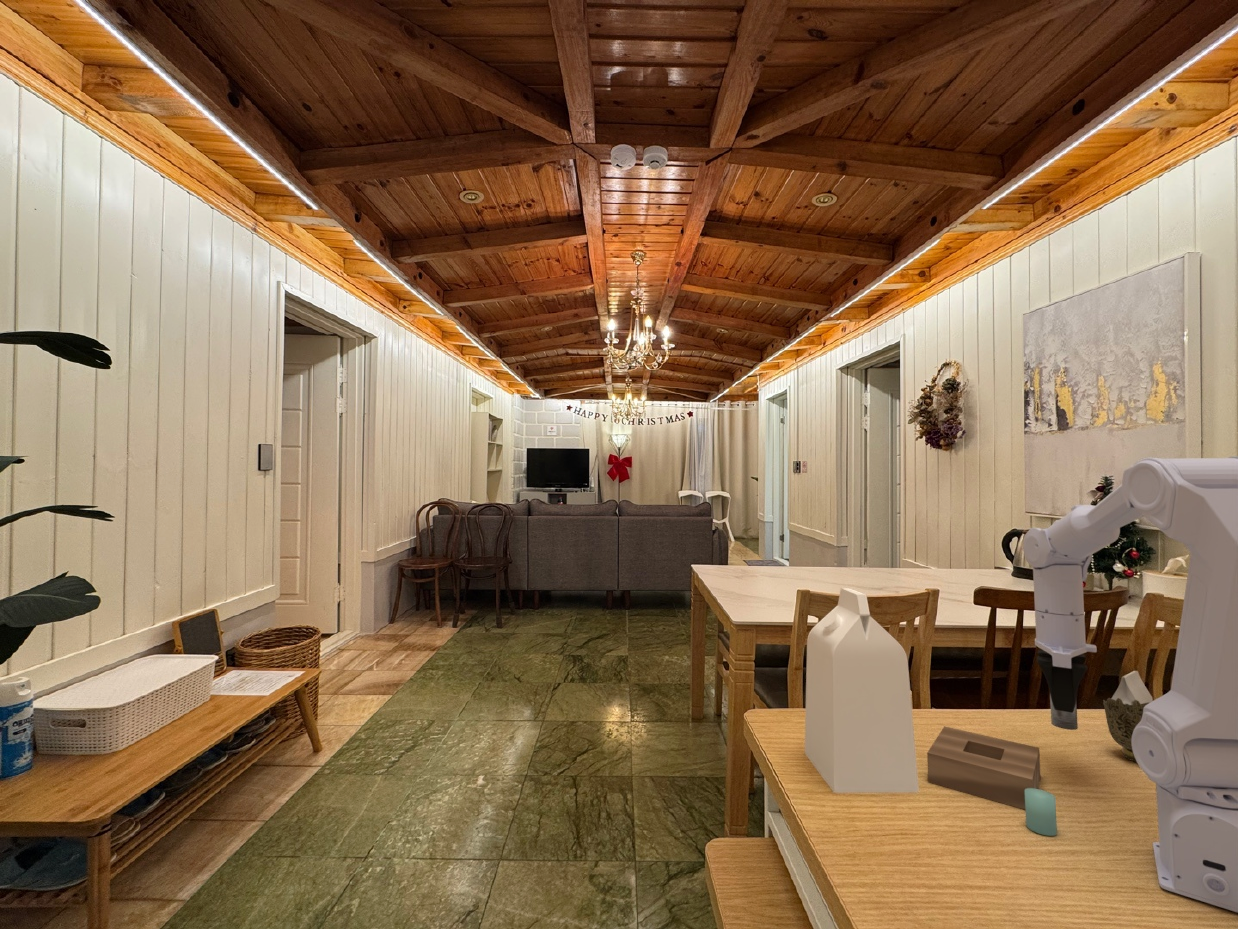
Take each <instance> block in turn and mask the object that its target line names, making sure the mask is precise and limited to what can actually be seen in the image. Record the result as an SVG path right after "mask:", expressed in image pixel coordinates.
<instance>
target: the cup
mask: <svg viewBox="0 0 1238 929" xmlns="http://www.w3.org/2000/svg"><path fill="white" fill-rule="evenodd" d="M1111 698H1112V697H1111ZM1111 698H1110V697H1108V698H1107V699H1106V700H1104V699H1103V706H1104V712H1105V718H1106V719H1105V720H1106V724H1107V728H1108V730H1109V734H1110V736H1111V737H1112V739H1113V740H1114V741H1115V742H1116V743H1117V744H1118V745H1119V746H1121V747H1122V748H1121V752H1122V755H1123V757H1125V758H1126V759H1128V760H1130V761H1133V762H1136V763H1137V761H1136V759H1135V757H1134V754H1133V750H1132V744H1131V739H1132V734H1133V731H1134V729H1135V727H1136V726H1137V725H1138V723H1139V722H1140V721H1141V719H1142V715H1143V709H1144V707H1145V706H1146V705H1147V704H1149V703H1143V704H1140V702H1139V701H1138V700H1133V701H1132V703H1133V704H1132V703H1131V704H1132V705H1129V704H1127V703H1125V704H1123V702H1122V700H1121V699H1119V698H1117V699H1116V701H1115V700H1113V699H1111Z"/></svg>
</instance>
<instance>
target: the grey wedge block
mask: <svg viewBox="0 0 1238 929" xmlns="http://www.w3.org/2000/svg"><path fill="white" fill-rule="evenodd" d="M1117 698H1119V699H1121V700H1122V702H1123V704H1125V703H1127V704H1129V705H1132V704H1133V703H1132V701H1133V700H1138V701H1139V702H1140V704H1143V703H1151V702H1152V701H1154V700H1153V696H1152V695H1151V693H1150V691H1149V690H1148V688H1147V686H1145V683H1144V682H1143V680H1142V678H1141V676H1140V673H1139V671H1138V670H1133V671H1131V672H1130V673H1128V674H1125V675H1123V676H1122V677H1121V678H1120V683H1119V685H1118V687H1117V689H1116V690H1115V692H1114V693H1113V695H1112V697H1111V699H1113V700H1115V701H1116V699H1117ZM1131 703H1132V704H1131Z"/></svg>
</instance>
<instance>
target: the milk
mask: <svg viewBox="0 0 1238 929" xmlns="http://www.w3.org/2000/svg"><path fill="white" fill-rule="evenodd" d="M869 608H870V607H869V602H868V597H867V594H866V593H863V592H860V591H858V590H855V589H852V588H850V587H847V588H846V587H840V591H839V597H838V602H837V605H836V606H835V607H834V608H833V609H831V611H829V612H828V613H827V614H826V615H825V616H824V617H822V619H820V620H819V621H818V622H817V623H816V624H815V625H814V626H813V627H812V628H811V630H810V631H809V633H808V636H807V639H806V640H807V641H806V671H805V672H806V675H805V679H806V680H805V681H806V682H805V717H804V718H805V719H804V721H805V723H804V754H805V756H806V757H807V759H808V760H809V761H810V763H811V764H812V765H813V766H814V768H815V769H816V771H817V772H818V773H819V775H820V777H822V778H823V780H824V782H825V783H826V784H827V785H828V787H829V788H830V789H831V790H832V792H833V793H834V794H880V793H881V794H884V793H885V794H889V793H890V794H892V793H894V794H899V793H900V794H901V793H902V794H905V793H906V794H907V793H908V794H909V793H910V794H913V793H915V794H916V793H920V789H919V788H920V787H919V779H918V778H919V777H918V768H917V766H918V765H917V764H918V763H917V754H916V742H915V732H914V719H913V706H912V696H911V695H912V694H911V683H910V673H909V660H908V656H907V653H906V651H905V649H904V647H903V646H902V645H901V644H900V642H898V640H897V639H896V638H894V637H893V636H892V635H891V634H890V633H889V632H888V631H887V630H886V629H885V628H884V627H883V626H882V625H881V624H880V623H879V622H877V621H876V619H874V618H873V617H872V616H871V613H870V609H869Z"/></svg>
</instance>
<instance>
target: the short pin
mask: <svg viewBox="0 0 1238 929" xmlns="http://www.w3.org/2000/svg"><path fill="white" fill-rule="evenodd" d="M1056 803H1057V802H1056V796H1055V795H1054V794H1053V793H1051V792H1049V791H1047V790H1046V791H1045V790H1043V789H1039V788H1038V789H1035V788H1027V789H1025V810H1024V811H1025V826H1026V828H1027V829H1029V830H1030V831H1032V832H1033V833H1037V834H1040V835H1043V836H1047V837H1048V836H1049V837H1052V836H1053V837H1054V836H1057V834H1058V826H1057V824H1058V822H1057V806H1056Z"/></svg>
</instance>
